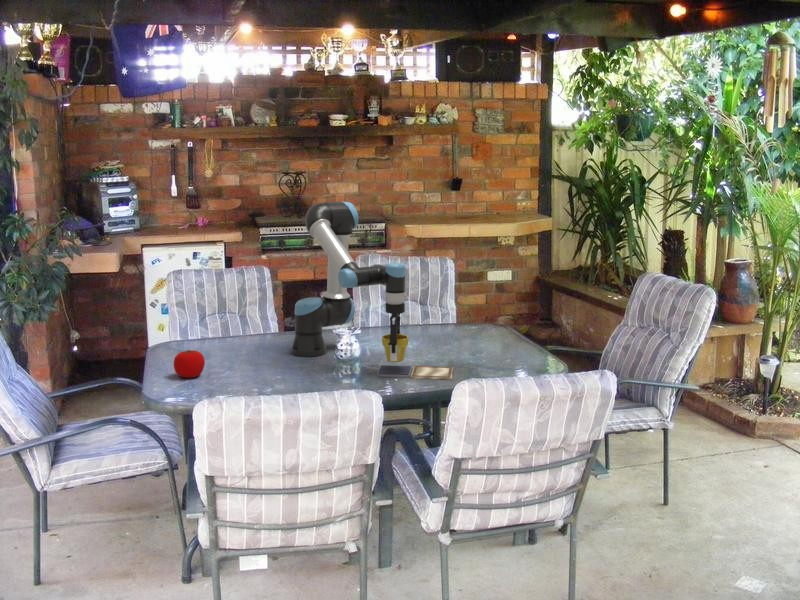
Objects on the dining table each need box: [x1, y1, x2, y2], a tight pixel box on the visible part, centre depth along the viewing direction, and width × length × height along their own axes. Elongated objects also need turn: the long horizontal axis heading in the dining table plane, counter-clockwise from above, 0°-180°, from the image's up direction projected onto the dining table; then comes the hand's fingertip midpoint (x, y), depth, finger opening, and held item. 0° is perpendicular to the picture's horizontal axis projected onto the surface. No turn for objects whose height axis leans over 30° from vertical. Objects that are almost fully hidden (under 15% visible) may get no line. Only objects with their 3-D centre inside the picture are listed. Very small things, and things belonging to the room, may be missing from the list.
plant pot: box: [381, 333, 409, 363], centre depth 361 cm, size 10×10×10 cm
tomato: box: [173, 350, 206, 379], centre depth 354 cm, size 12×12×10 cm
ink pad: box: [376, 364, 413, 379], centre depth 363 cm, size 13×13×1 cm
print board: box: [410, 365, 454, 381], centre depth 361 cm, size 16×16×1 cm
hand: (395, 357), depth 362 cm, fingers closed on plant pot, 10 cm apart
